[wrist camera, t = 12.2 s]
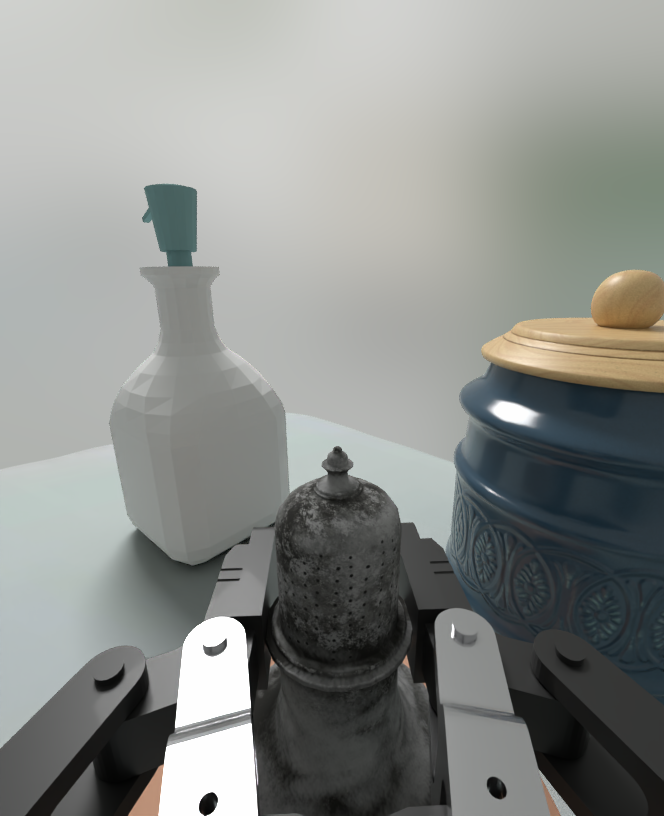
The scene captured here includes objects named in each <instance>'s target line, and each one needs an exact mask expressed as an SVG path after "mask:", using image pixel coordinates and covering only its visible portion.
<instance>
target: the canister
mask: <svg viewBox="0 0 664 816" xmlns="http://www.w3.org/2000/svg"><path fill="white" fill-rule="evenodd" d="M663 313H664V282H663V280H662V279H661V278H660V277H659V276H658V275H656V274H654V273H652V272H649V271H643V270H628V271H622V272H619V273H616V274H613V275H611V276H610V277H608V278H607V279H606V280H604V281H603V282H602V284H601V285H600V286H599V287H598V289H597V290H596V292H595V294H594V296H593V299H592V303H591V314H592V318H553V319H552V318H551V319H536V320H528V321H522V322H519V323H518V324H516V325H515V326H514V327H513V329H512V330H511V331H509V332H507V333H506V334H504V335H502V336H500V337H498V338H495V339H493V340H491V341H490V342H488V343H486V344H485V345H483V347H482V350H481V352H482V355H483V357H484V358H485V359H486V360H488V361H489V362H491V363H490V365H489V367H488V369H487V371H486V373H485V374H484V375H482V376H480V377H478V378H476V379H474V380H473V381H471V382H470V383H468V384H467V385H465V386H464V387H463V389H462V390H461V392H460V395H459V400H460V403H461V406H462V408H463V409H464V410H465V412H466V413H467V414H468V415H469V420H468V427H467V432H466V437H465V438H464V439H462V440H461V442H460V443H459V444H458V445H457V447H456V449H455V452H454V464H455V468H456V470H457V471H456V482H455V493H454V505H453V516H452V527H451V535H450V537H449V539H448V542H447V546H446V556H447V558H448V560H449V563H450V564H451V566H452V568H453V570H454V574H455V575H456V577H457V579H458V581H459V583H460V585H461V587H462V589H463V591H464V593H465V595H466V598H467V600H468V602H469V604H470V606H471V608H472V610H473V612H475V613H477V614H478V615H480V616H481V617H483V618H484V619H485V620H486V621H487V622H488V623H489V624H490V625H491V626H492V628H493V630H494V632H495V633H497V634H500V635H502V636H505V637H508V638H512V639H516V640H521V641H525V642H529V643H533V644H534V639H535V637H536V636H537V635H538V633H540V632H542V631H544V630H549V629H557V630H562V631H566V632H569V633H572V634H574V635H576V636H578V637H580V638H582V639H583V640H585V641H586V642H588V643H589V644H590V645H591V646H593V647H594V648H595V649H596V650H597V651H599V652H600V653H601V654H602V655H604V656H605V657H606V658H607V659H608V660H610V661H611V662H612V663H613V664H614V665H616V666H617V667H618V668H619V669H620V670H622V671H623V672H624V673H625V674H627V675H628V676H629V677H630V678H631V679H633V680H634V681H635V682H636V683H637V684H639V685H640V686H641V687H642V688H644V689H645V690H646V691H647V692H648V693H650V694H651V695H652V696H653V697H654V698H656V699H657V700H658V701H659V702H661V703H662V704H663V705H664V320H659V319H660V318H661V317H662V315H663Z"/></svg>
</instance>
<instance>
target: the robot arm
mask: <svg viewBox="0 0 664 816" xmlns="http://www.w3.org/2000/svg"><path fill="white" fill-rule="evenodd" d="M401 527H402V531H401V552H400V573H399V595H400V596H401V597H402V598H403V600H404V602H405V604H406V607H407V611H408V614H409V618H410V621H411V625H412V630H413V634H412V641H411V647H410V649H409V651H408V653H407V659H408V663H409V667H410V671H411V675H412V679H413V683H426V687H427V691H428V694H429V699H428V732H429V758H430V784H431V806H418V807H407V808H405V809H402V810H400V811H398V812H395V813H393V814H391V815H388V816H550V812H549V808H548V804H547V800H546V797H545V793H544V789H543V785H542V781H541V777H540V774H539V770H540V771H541V772H542V774H543V775H544V776H545V777H546V779H547V780H548V781H549V782H550V784H551V785H552V786H553V787H554V789H555V790H556V791H557V792H558V794H559V795H560V796H561V797H562V799H563V800H564V801H565V802H566V804H567V805H568V806H569V808H570V809H571V810H572V811H573V813H574V814H575V815H576V816H664V705H663V704H662V703H661V702H659V701H658V700H657V699H656V698H654V697H653V696H652V695H651V694H650V693H648V692H647V691H646V690H645V689H644V688H642V687H641V686H640V685H639V684H637V683H636V682H635V681H634V680H633V679H631V678H630V677H629V676H628V675H627V674H625V673H624V672H623V671H622V670H620V669H619V668H618V667H617V666H616V665H614V664H613V663H612V662H611V661H610V660H608V659H607V658H606V657H605V656H604V655H602V654H601V653H600V652H599V651H597V650H596V649H595V648H594V647H593V646H591V645H590V644H589V643H588V642H586V641H585V640H583V639H582V638H580V637H578V636H576V635H574V634H572V633H569V632H566V631H562V630H557V629H549V630H544V631H542V632H540V633H538V635H537V636H536V637H535V639H534V644H533V643H529V642H525V641H521V640H516V639H512V638H508V637H505V636H502V635H500V634H497V633H495V632H494V630H493V628H492V626H491V625H490V624H489V623H488V622H487V621H486V620H485V619H484V618H483V617H481V616H480V615H478V614H477V613H475V612H473V610H472V608H471V606H470V604H469V602H468V600H467V598H466V595H465V593H464V591H463V589H462V587H461V585H460V583H459V581H458V579H457V577H456V575H455V574H454V570H453V568H452V566H451V564H450V563H449V560H448V558H447V556H446V554H445V552H444V549H443V548H442V547H441V546H440V545H438V544H437V543H436V542H435V541H434V540H433V539H432V538H426V539H420V537H419V534H418V532H417V529H416V527H415V525H414V523H401ZM278 596H279V594H278V578H277V563H276V547H275V531H274V527H254V528H253V530H252V534H251V537H250V541H249V544H239V545H235V546H234V547H233V548H232V549H231V550H230V551H229V552H228V554H227V555H226V556H225V558H224V561H223V564H222V567H221V571H220V573H219V576H218V581H217V583H216V586H215V589H214V592H213V595H212V598H211V601H210V604H209V607H208V610H207V613H206V616H205V619H204V622H203V623H202V624H200V625H198V626H197V627H196V628H195V629H194V630H192V631H191V633H190V634H189V635H188V637H187V638H186V640H185V643H184V645H183V646H181V647H179V648H177V649H175V650H173V651H170V652H167V653H164V654H161V655H158V656H155V657H151V658H148V659H145V656H144V654H143V652H142V651H141V650H140V649H138V648H136V647H133V646H119V647H114V648H111V649H109V650H106V651H104V652H102V653H100V654H99V655H97V656H95V657H94V658H93V659H91V660H90V661H89V662H88V663H87V664H86V665H85V666H84V667H83V668H82V669H81V670H80V671H79V672H78V673H77V674H75V675H74V676H73V677H72V678H71V679H70V680H69V681H68V682H67V683H66V684H65V685H64V686H63V687H62V688H61V689H60V690H59V691H58V692H57V693H56V694H55V695H54V696H53V697H52V698H51V699H50V700H49V701H48V702H47V703H46V704H45V705H44V706H43V707H42V708H41V709H40V710H39V711H38V712H37V713H36V714H35V715H34V716H33V717H32V718H31V719H30V720H29V721H28V722H27V723H26V724H25V725H24V726H23V727H22V728H21V729H20V730H19V731H18V732H17V733H16V734H15V735H14V736H13V737H12V738H11V739H10V740H9V741H8V742H7V743H6V744H5V745H4V746H3V747H2V748H1V749H0V816H128V815H129V813H130V812H131V810H132V808H133V807H134V805H135V804H136V802H137V801H138V799H139V798H140V796H141V795H142V793H143V791H144V790H145V788H146V787H147V785H148V784H149V782H150V781H151V779H152V778H153V776H154V774H155V773H156V771H157V769H158V767H159V766H161V765H163V764H165V765H164V774H163V783H162V792H161V801H160V810H159V816H304V815H300V814H297V813H293V814H275V815H261V810H260V798H259V785H258V773H257V760H256V747H255V735H254V722H253V711H254V706H255V699H256V692H257V690H267V689H268V680H269V672H270V663H271V655H270V653H269V651H268V648H267V646H266V631H267V623H268V616H269V610H270V607H271V606H272V604H273V602H274V601H275V599H276V598H277V597H278ZM538 768H539V770H538Z"/></svg>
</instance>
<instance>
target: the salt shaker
mask: <svg viewBox="0 0 664 816" xmlns="http://www.w3.org/2000/svg"><path fill="white" fill-rule="evenodd" d="M322 467H323V468H324V469H325V470H327V472H328V475H325V476H323V477H321V478H318V479H315V480H312V481H310V482H308V483H306V484H304V485H302V486H299V487H298V488H297V489H295V490H294V491H292V492H291V493H290V494H289V496H288V497H287V498H286V499H285V501H284V502H283V503H282V505H281V506H280V507H279V510H278V513H277V516H276V521H275V527H274V531H275V547H276V563H277V578H278V594H279V596H278V597H277V598H276V599H275V601H274V602H273V604H272V606H271V607H270V610H269V616H268V623H267V631H266V646H267V648H268V651H269V653H270V655H271V657H272V660H273V661H274V662H275V664H273V665H272V666H271V667H270V672H269V680H268V689H267V690H257V692H256V699H255V706H254V711H253V722H254V735H255V747H256V760H257V773H258V785H259V798H260V810H261V815H275V814H293V813H297V814H300V815H304V816H388V815H391V814H393V813H395V812H398V811H400V810H402V809H405V808H407V807H418V806H431V784H430V758H429V732H428V699H429V694H428V691H427V688H426V687H425V685H424V684H423V683H413V679H412V675H411V671H410V668H408V667H407V666H406V665H405V664H404V663H403V661H404V659H405V657H406V655H407V653H408V651H409V649H410V647H411V641H412V634H413V630H412V625H411V621H410V618H409V614H408V611H407V607H406V604H405V602H404V600H403V598H402V597H401V596H400V595H399V573H400V552H401V531H402V527H401V522H400V518H399V513H398V508H397V507H396V505H395V504H394V502H393V501H392V500H391V498H390V497H389V496H388V495H387V493H386V492H385V491H383V490H382V489H381V488H379V487H378V486H376V485H374V484H372V483H370V482H367V481H365V480H363V479H360V478H356V477H352V476H350V475H348V473H347V472H348V470H349V469H351V468H352V467H353V462H352V461H351V460H350V459H348V456H347V454H346V453H345V452H343V451H342V449H341V447H339V446H336V447H334V448H333V451H332V452H330V453H329V454H328V457H327V459H326V460H324V461H323V462H322Z"/></svg>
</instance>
